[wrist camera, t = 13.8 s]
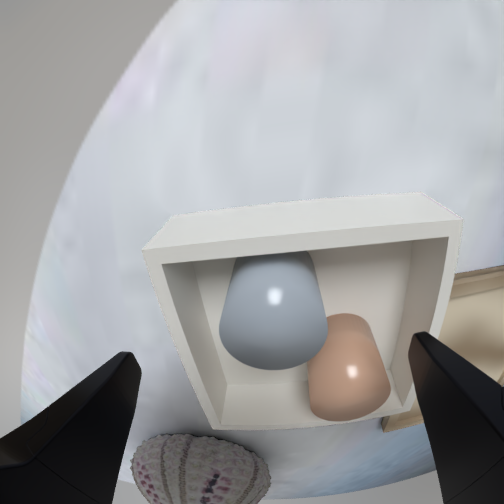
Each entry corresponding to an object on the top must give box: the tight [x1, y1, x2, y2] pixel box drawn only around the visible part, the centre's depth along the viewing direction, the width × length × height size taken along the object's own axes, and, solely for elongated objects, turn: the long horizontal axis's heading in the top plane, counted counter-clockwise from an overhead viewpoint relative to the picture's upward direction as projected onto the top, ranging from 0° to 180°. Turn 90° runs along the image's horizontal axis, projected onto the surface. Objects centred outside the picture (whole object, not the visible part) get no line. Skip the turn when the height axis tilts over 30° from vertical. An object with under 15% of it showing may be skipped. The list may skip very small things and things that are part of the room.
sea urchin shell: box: [130, 434, 271, 504], centre depth 20 cm, size 13×14×8 cm
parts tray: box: [381, 265, 504, 433], centre depth 15 cm, size 14×12×1 cm
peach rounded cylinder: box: [306, 313, 391, 422], centre depth 13 cm, size 4×4×4 cm
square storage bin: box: [142, 192, 464, 430], centre depth 13 cm, size 11×11×4 cm
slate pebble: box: [219, 250, 328, 370], centre depth 11 cm, size 4×4×4 cm
